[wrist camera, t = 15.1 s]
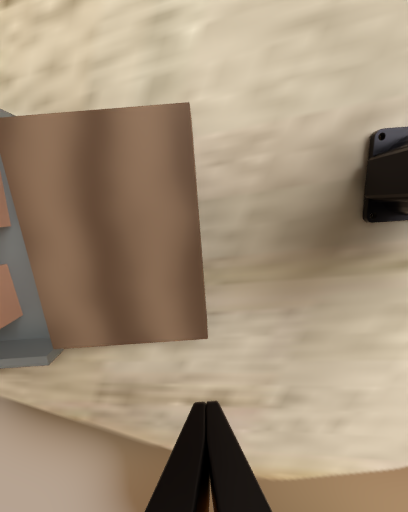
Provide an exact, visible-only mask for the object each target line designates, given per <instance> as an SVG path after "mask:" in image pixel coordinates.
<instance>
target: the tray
mask: <svg viewBox="0 0 408 512" xmlns="http://www.w3.org/2000/svg"><path fill="white" fill-rule="evenodd" d="M13 116H14V115H12V114H10V113H8V112H6V111H4V110H2V109H0V118H1V117H13ZM0 172H1V177H2V182H3V187H4V192H5V197H6V203H7V208H8V213H9V218H10V223H11V226H8V227H0V264H7V265H8V268H9V272H10V275H11V278H12V281H13V284H14V288H15V291H16V294H17V297H18V300H19V304H20V307H21V310H22V313H23V315H22V316H21V317H19V318H17V319H16V320H14V321H12V322H11V323H9V324H8V325H6V326H4V327H3V328H1V329H0V368H15V367H30V366H44V365H49V364H50V363H51V362H52V361H53V360H54V359H55V358H56V357H57V356H58V355H59V354H60V353H61V352H62V351H63V350H64V349H53V346H52V342H51V339H50V335H49V331H48V328H47V324H46V320H45V317H44V313H43V309H42V306H41V302H40V298H39V295H38V291H37V287H36V284H35V280H34V276H33V273H32V269H31V265H30V262H29V258H28V254H27V251H26V247H25V243H24V240H23V236H22V232H21V229H20V225H19V221H18V218H17V214H16V210H15V207H14V203H13V199H12V196H11V192H10V188H9V185H8V181H7V177H6V174H5V170H4V166H3V163H2V159H1V155H0Z"/></svg>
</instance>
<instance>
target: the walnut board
mask: <svg viewBox="0 0 408 512" xmlns="http://www.w3.org/2000/svg"><path fill="white" fill-rule="evenodd" d="M0 155H1V159H2V163H3V166H4V170H5V174H6V177H7V181H8V185H9V188H10V192H11V196H12V199H13V203H14V207H15V210H16V214H17V218H18V221H19V225H20V229H21V232H22V236H23V240H24V243H25V247H26V251H27V254H28V258H29V262H30V265H31V269H32V273H33V276H34V280H35V284H36V287H37V291H38V295H39V298H40V302H41V306H42V309H43V313H44V317H45V320H46V324H47V328H48V331H49V335H50V339H51V342H52V346H53V349H65V348H80V347H94V346H109V345H123V344H138V343H153V342H167V341H182V340H196V339H208V332H207V314H206V301H205V288H204V275H203V262H202V249H201V236H200V223H199V210H198V198H197V185H196V172H195V159H194V146H193V133H192V120H191V112H190V104H189V102H188V103H175V104H163V105H150V106H138V107H126V108H113V109H101V110H88V111H76V112H63V113H51V114H38V115H26V116H13V117H1V118H0Z"/></svg>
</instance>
